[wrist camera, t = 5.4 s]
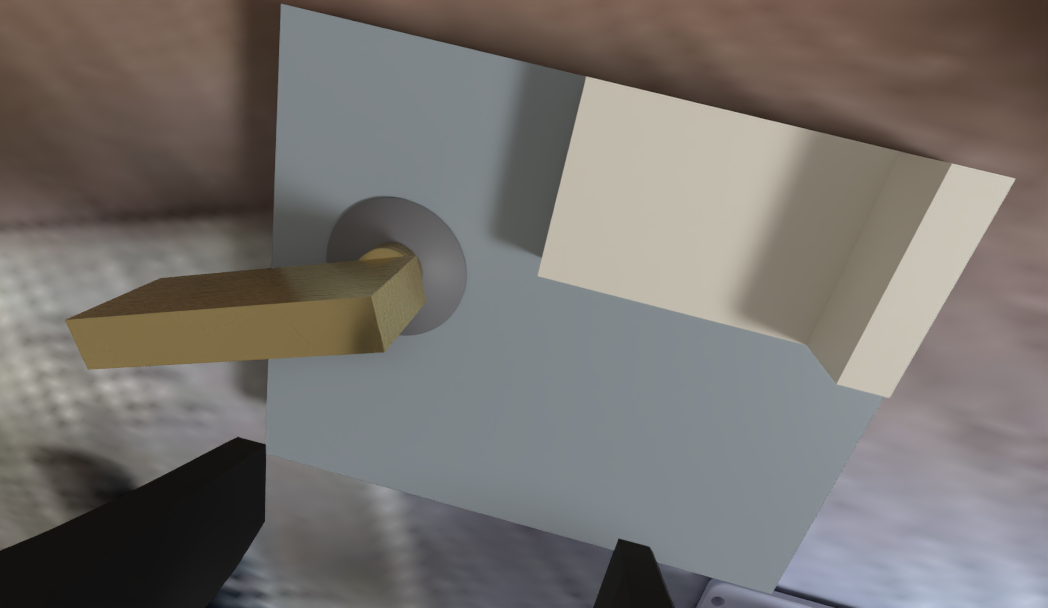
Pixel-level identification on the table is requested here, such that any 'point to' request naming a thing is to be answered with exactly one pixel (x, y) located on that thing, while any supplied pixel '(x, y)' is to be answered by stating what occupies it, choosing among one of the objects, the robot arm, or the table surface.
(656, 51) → the table surface
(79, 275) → the table surface
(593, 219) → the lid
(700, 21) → the table surface
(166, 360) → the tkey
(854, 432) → the grey flat rectangular board
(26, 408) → the table surface
